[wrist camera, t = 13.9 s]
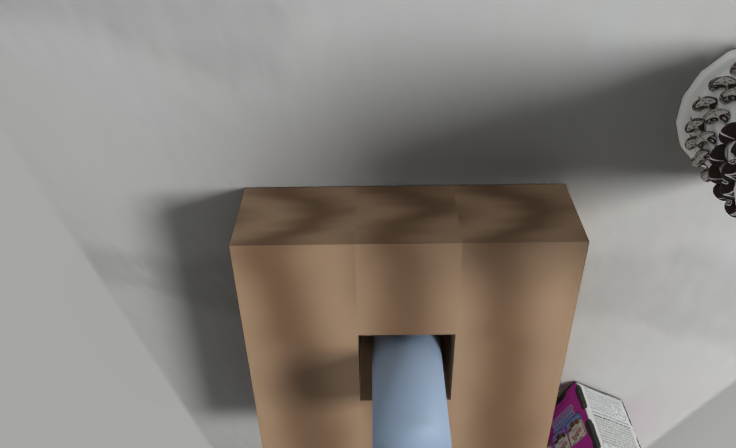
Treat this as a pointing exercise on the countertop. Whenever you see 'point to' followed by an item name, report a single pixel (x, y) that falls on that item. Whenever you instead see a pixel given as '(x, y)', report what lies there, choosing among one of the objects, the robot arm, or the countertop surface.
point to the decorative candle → (712, 126)
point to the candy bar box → (590, 421)
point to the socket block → (407, 303)
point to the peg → (408, 393)
